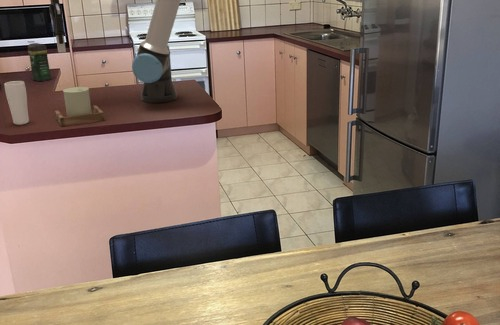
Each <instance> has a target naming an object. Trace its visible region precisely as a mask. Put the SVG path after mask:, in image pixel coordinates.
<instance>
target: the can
mask: <svg viewBox="0 0 500 325" xmlns="http://www.w3.org/2000/svg"><path fill="white" fill-rule="evenodd" d="M62 92H63V99H64V105H65V110H66V111H65V112H66V117H70V116H77V115H84V114H92V113H93V112H92V105H91V97H90V96H91V95H90V88H89V87H87V86H86V87H85V86H75V87H74V86H73V87H67V88H65V89H63V90H62Z"/></svg>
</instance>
